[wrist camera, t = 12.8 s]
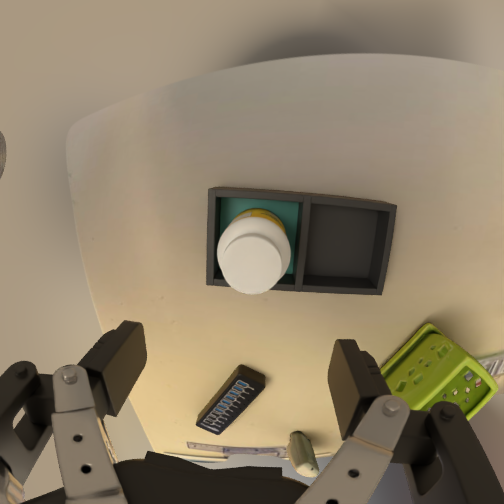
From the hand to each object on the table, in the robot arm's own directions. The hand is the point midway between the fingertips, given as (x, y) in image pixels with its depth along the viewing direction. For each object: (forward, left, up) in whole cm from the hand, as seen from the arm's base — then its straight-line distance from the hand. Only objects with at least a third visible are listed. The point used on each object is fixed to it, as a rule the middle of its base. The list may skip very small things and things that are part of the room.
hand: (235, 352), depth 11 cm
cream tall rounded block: (+11, -36, -24) cm, 45 cm away
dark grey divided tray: (+5, 0, -24) cm, 24 cm away
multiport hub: (-2, -26, -24) cm, 36 cm away
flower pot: (+27, -18, -24) cm, 40 cm away
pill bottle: (0, 0, -23) cm, 23 cm away
